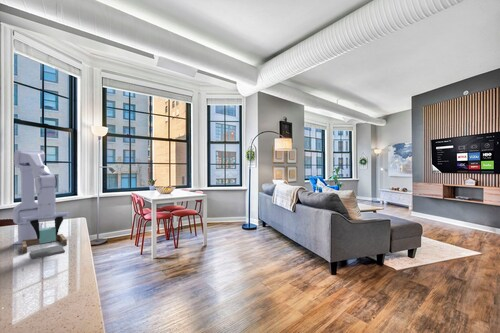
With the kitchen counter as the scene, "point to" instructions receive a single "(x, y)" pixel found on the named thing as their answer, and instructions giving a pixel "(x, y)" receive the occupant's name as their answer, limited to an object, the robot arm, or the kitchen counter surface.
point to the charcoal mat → (47, 251)
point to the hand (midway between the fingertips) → (47, 236)
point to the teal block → (47, 234)
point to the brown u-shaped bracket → (36, 241)
